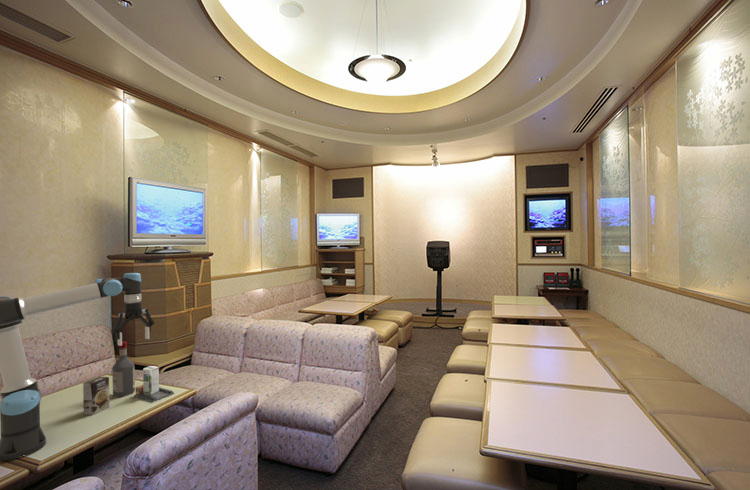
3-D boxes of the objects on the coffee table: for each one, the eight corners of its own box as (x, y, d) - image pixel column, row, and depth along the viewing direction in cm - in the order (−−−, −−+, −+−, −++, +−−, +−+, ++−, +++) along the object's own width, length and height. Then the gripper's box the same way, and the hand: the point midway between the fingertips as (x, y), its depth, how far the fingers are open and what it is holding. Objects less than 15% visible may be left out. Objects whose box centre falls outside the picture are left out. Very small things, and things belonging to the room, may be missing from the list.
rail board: (152, 402, 190) (152, 393, 190) (133, 396, 198) (133, 387, 198) (174, 393, 200) (173, 385, 200) (155, 388, 209) (155, 380, 209)
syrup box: (142, 394, 199) (142, 368, 199) (152, 389, 204) (151, 365, 204) (150, 395, 197) (149, 369, 197) (159, 391, 202) (159, 366, 202)
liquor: (119, 398, 196) (117, 345, 196) (111, 395, 201) (110, 343, 201) (136, 392, 204) (135, 341, 204) (128, 389, 209) (127, 339, 209)
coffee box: (93, 415, 177) (92, 383, 177) (83, 414, 178) (82, 382, 178) (110, 406, 186) (109, 376, 186) (100, 406, 187) (99, 376, 187)
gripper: (110, 306, 172) (111, 349, 172) (160, 298, 194) (161, 336, 194) (102, 305, 176) (103, 347, 176) (152, 298, 198) (153, 335, 198)
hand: (134, 341), depth 185 cm, fingers open, 13 cm apart
